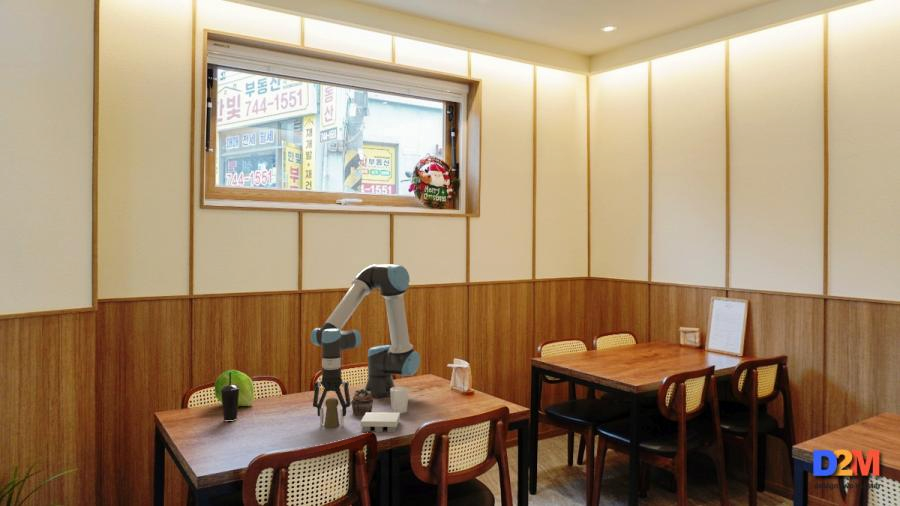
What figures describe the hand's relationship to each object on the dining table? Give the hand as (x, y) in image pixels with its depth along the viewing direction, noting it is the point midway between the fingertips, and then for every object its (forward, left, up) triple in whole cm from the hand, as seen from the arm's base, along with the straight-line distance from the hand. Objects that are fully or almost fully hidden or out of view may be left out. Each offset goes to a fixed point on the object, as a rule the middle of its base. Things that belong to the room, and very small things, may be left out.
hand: (331, 423), depth 232 cm
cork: (0, 0, -1) cm, 1 cm away
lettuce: (-28, -51, -1) cm, 58 cm away
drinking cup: (-6, -44, -1) cm, 44 cm away
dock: (+1, +20, -1) cm, 20 cm away
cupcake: (-18, +9, -1) cm, 20 cm away
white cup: (-20, +25, -1) cm, 32 cm away
